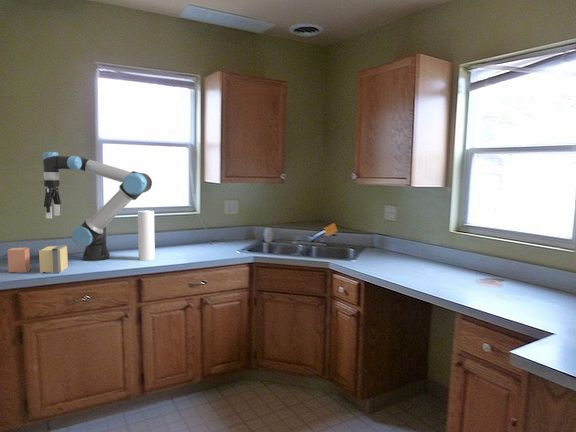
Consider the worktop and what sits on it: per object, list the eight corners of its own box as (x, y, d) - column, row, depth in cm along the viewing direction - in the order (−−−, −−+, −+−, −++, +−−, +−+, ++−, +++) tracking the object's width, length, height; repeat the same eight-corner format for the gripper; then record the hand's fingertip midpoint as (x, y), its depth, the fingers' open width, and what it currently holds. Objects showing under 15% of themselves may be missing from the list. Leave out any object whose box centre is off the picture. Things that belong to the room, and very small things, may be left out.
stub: (30, 269, 222) (29, 247, 221) (25, 272, 217) (24, 249, 215) (13, 269, 221) (12, 247, 219) (8, 272, 215) (7, 249, 214)
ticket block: (68, 266, 231) (67, 243, 229) (60, 273, 216) (59, 248, 215) (49, 267, 229) (48, 243, 227) (38, 273, 214) (37, 249, 212)
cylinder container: (157, 258, 256) (157, 210, 253) (148, 261, 248) (147, 211, 244) (145, 256, 259) (144, 209, 256) (135, 259, 251) (134, 210, 247)
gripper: (51, 178, 245) (53, 214, 247) (36, 180, 220) (37, 219, 223) (65, 179, 246) (67, 214, 249) (51, 180, 222) (53, 219, 224)
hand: (53, 217), depth 236 cm, fingers open, 13 cm apart
